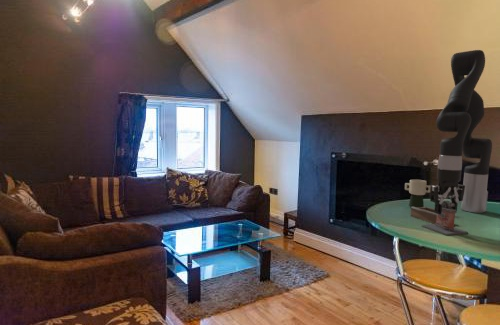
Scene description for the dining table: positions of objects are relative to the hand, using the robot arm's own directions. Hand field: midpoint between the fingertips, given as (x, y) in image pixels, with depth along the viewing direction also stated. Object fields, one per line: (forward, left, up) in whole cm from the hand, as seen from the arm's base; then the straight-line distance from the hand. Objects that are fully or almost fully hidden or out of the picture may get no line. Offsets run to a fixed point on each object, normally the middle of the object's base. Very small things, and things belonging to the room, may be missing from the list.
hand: (445, 213), depth 127 cm
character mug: (-17, -31, -6) cm, 36 cm away
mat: (0, 0, -6) cm, 6 cm away
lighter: (0, 0, -6) cm, 6 cm away
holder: (-7, -13, -6) cm, 16 cm away
